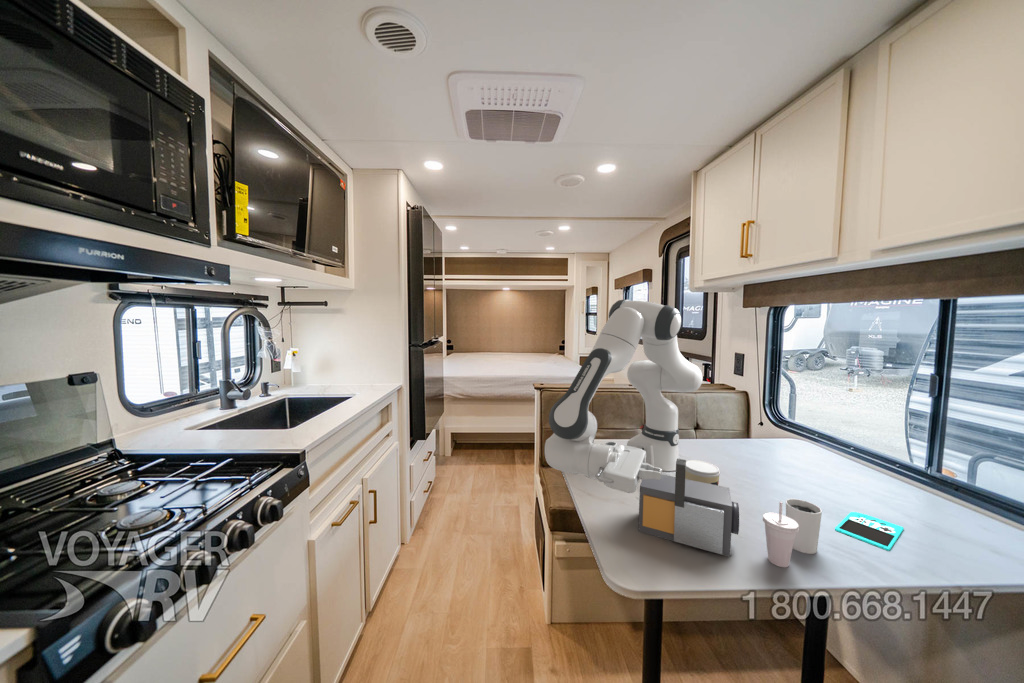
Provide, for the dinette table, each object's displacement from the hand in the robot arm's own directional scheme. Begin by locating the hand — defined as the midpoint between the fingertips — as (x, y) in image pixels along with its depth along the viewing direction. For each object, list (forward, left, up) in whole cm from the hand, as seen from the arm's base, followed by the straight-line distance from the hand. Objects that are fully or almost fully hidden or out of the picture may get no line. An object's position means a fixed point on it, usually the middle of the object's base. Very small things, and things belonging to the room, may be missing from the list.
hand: (661, 474), depth 83 cm
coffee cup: (-3, +25, -17) cm, 31 cm away
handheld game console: (+28, +50, -18) cm, 60 cm away
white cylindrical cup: (+20, +27, -17) cm, 38 cm away
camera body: (+1, +9, -17) cm, 19 cm away
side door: (+7, +4, -16) cm, 18 cm away
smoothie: (+19, +16, -17) cm, 30 cm away
